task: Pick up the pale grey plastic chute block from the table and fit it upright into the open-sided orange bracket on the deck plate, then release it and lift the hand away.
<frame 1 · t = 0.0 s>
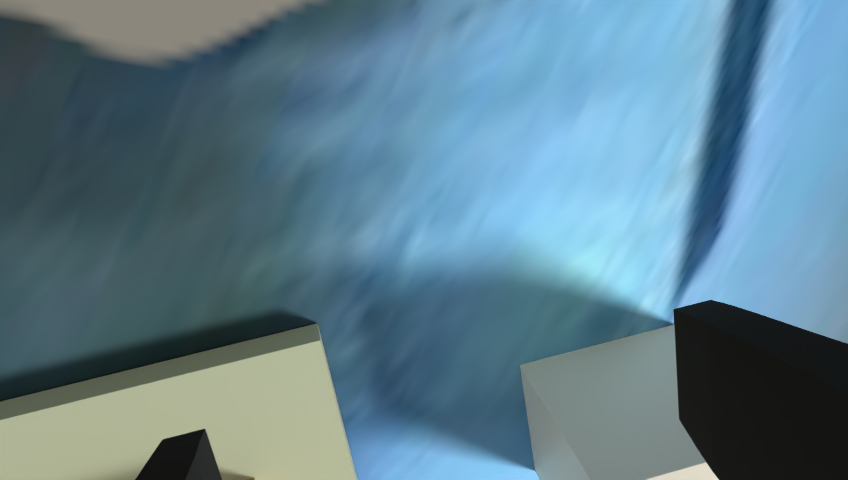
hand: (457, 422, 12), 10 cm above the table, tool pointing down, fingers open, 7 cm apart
chute block: (603, 398, 25), on the table
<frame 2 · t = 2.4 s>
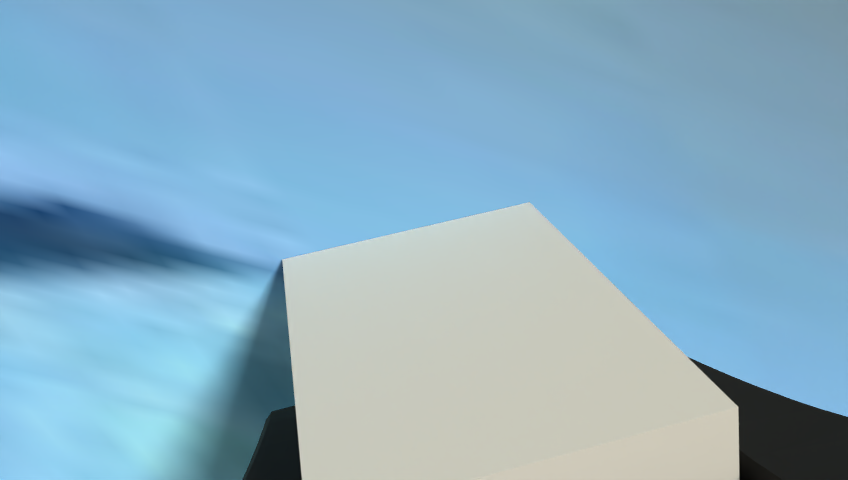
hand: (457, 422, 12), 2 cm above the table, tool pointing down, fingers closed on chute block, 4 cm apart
chute block: (433, 365, 13), on the table, touching gripper
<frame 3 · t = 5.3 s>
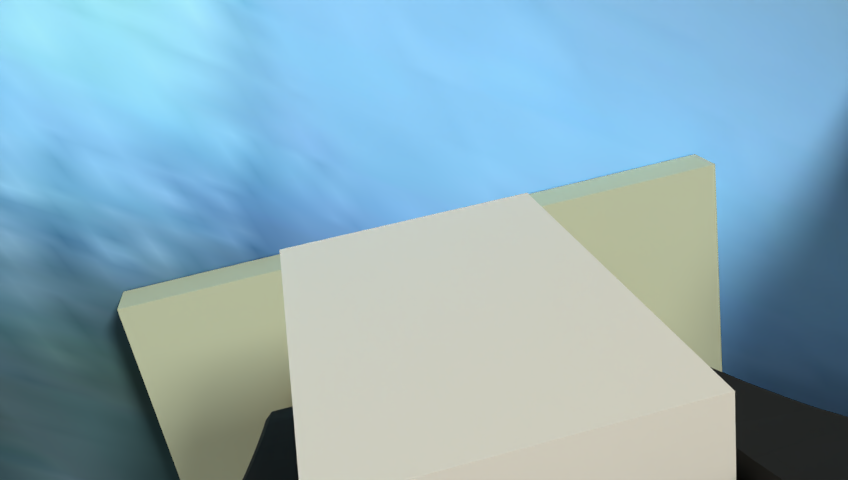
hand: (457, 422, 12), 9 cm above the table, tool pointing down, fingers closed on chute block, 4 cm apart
deck: (464, 442, 23), on the table
chute block: (431, 356, 13), point 7 cm above the table, touching gripper
when the fingers open (4 cm above the table, at t = 8.0 s): chute block drops 1 cm, resting on deck.
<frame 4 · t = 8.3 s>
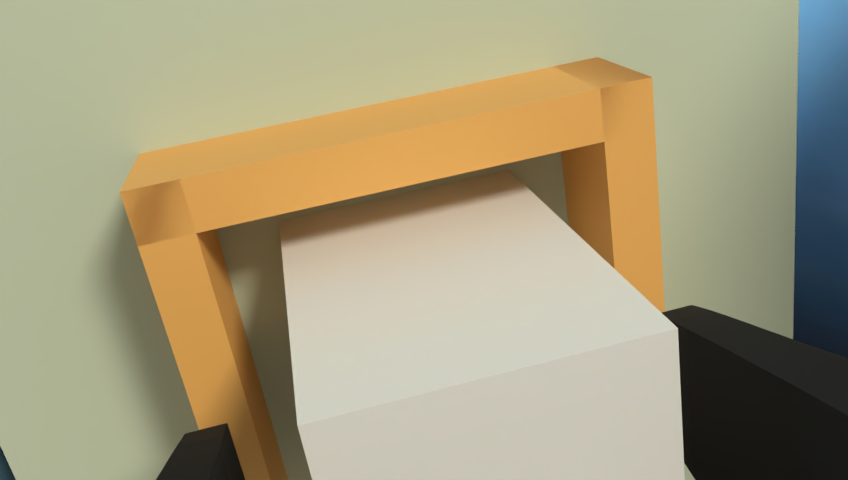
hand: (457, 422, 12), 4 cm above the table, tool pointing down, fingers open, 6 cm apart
deck: (410, 309, 15), on the table
chute block: (419, 322, 14), point 1 cm above the table, touching deck
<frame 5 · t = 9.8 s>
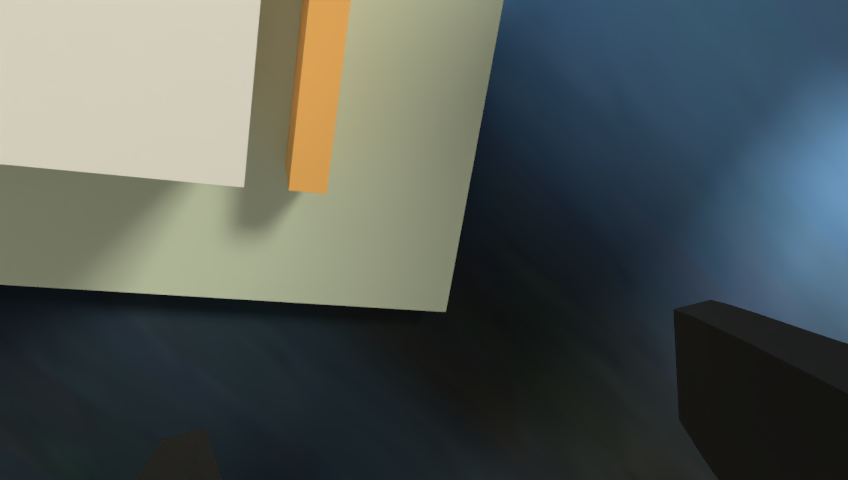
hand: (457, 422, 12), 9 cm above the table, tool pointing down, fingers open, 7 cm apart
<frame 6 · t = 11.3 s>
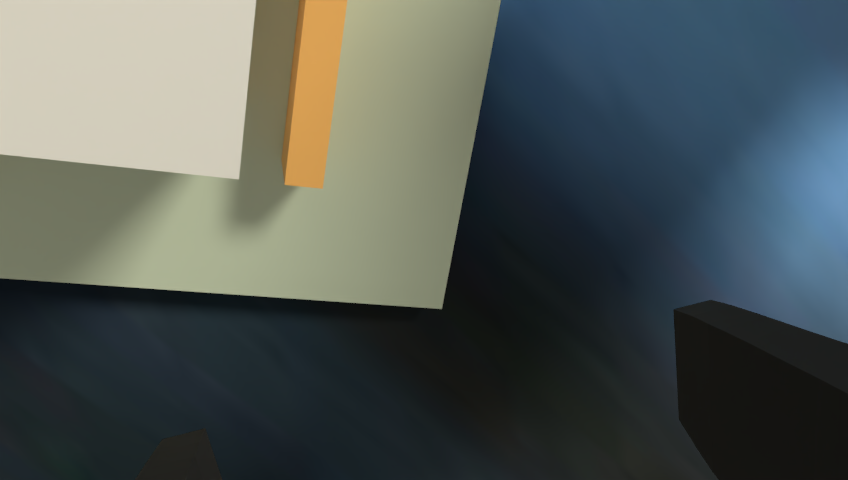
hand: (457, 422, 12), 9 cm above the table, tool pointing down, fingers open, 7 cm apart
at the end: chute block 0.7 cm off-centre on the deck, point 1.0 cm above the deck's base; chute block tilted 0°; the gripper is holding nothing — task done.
